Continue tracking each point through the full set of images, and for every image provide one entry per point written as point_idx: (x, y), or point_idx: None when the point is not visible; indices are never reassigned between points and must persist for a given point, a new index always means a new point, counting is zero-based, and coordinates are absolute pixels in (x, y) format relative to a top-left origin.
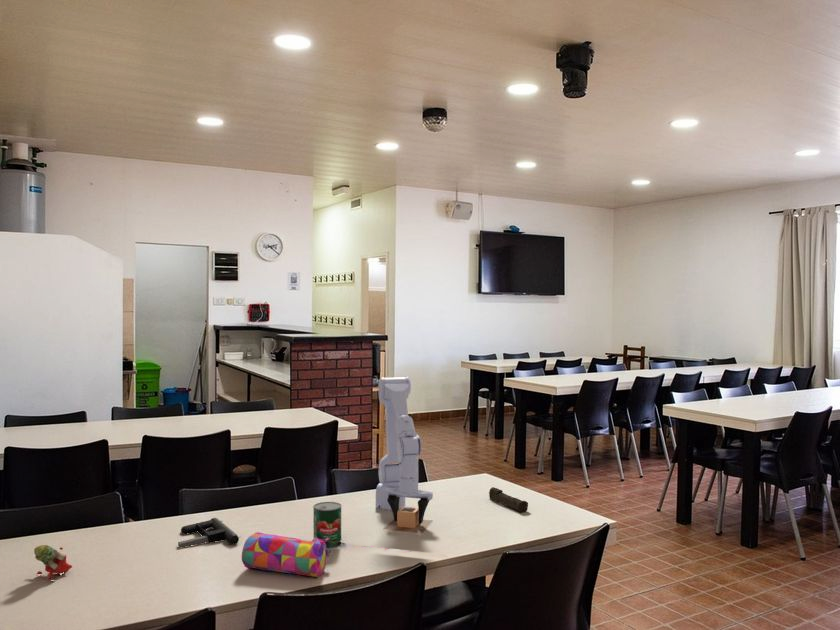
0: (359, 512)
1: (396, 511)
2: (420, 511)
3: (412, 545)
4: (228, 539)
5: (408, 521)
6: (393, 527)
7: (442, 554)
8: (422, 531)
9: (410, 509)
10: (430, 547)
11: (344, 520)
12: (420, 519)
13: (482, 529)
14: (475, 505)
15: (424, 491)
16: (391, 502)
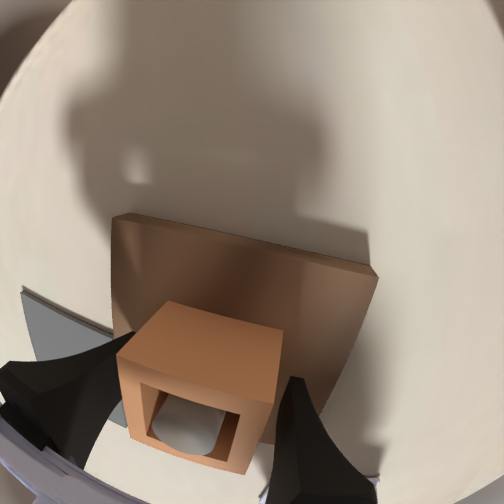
0: (426, 468)
1: (287, 430)
2: (80, 362)
3: (164, 86)
4: None
5: (192, 332)
6: (307, 310)
7: (58, 43)
8: (114, 243)
9: (160, 414)
10: (87, 90)
11: (494, 401)
12: (116, 339)
13: (9, 321)
14: (101, 472)
15: (21, 481)
16: (332, 479)
